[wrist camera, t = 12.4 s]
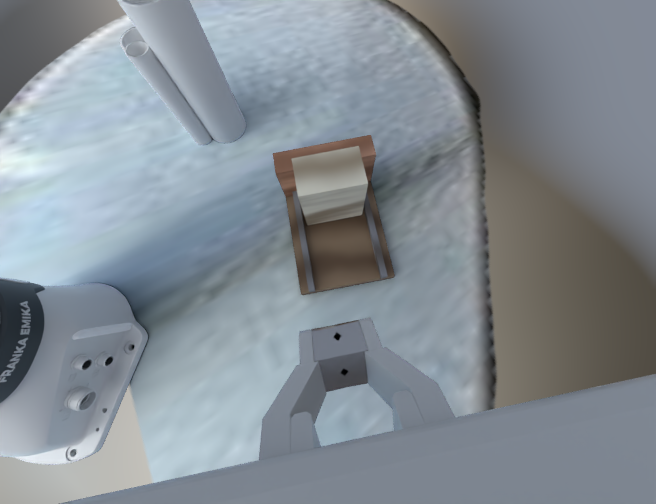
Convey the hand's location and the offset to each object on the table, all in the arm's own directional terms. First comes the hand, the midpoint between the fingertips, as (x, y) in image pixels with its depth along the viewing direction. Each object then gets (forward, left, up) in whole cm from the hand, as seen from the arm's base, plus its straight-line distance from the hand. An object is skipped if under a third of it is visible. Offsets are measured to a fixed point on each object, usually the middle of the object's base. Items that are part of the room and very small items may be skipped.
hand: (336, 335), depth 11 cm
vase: (+31, +24, -26) cm, 47 cm away
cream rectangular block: (+17, +2, -24) cm, 30 cm away
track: (+14, +2, -26) cm, 30 cm away
